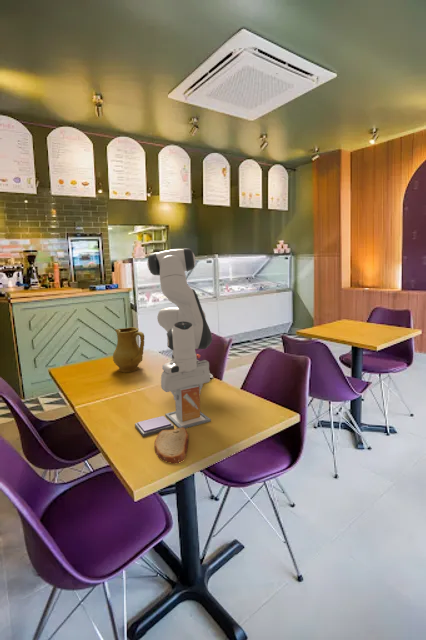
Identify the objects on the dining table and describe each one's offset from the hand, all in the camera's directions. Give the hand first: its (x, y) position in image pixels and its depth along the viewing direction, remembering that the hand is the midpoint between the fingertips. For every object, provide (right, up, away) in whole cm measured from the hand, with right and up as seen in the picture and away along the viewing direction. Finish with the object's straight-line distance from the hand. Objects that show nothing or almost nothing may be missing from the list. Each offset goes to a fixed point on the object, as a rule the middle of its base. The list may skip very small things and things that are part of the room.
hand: (187, 397), depth 141 cm
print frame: (0, -9, +1) cm, 9 cm away
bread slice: (-3, -13, -20) cm, 24 cm away
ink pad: (-12, -10, -6) cm, 17 cm away
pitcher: (-40, +1, +71) cm, 81 cm away
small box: (0, -9, +1) cm, 9 cm away
